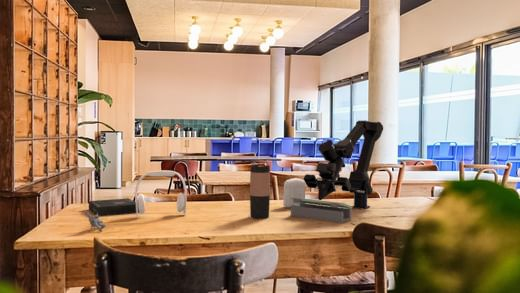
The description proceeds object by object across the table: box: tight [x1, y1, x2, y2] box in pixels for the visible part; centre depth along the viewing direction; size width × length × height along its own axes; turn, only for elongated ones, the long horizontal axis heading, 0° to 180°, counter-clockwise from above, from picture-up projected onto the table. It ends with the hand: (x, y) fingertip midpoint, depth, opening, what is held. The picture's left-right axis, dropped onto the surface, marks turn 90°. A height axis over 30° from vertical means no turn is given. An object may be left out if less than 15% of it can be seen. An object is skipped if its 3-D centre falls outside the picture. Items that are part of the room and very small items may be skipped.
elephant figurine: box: [83, 210, 107, 233], centre depth 160 cm, size 10×6×9 cm
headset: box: [134, 169, 188, 220], centre depth 184 cm, size 20×7×18 cm, turn 108°
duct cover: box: [291, 197, 353, 210], centre depth 184 cm, size 9×22×2 cm, turn 55°
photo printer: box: [283, 177, 306, 208], centre depth 209 cm, size 10×4×12 cm, turn 123°
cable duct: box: [290, 203, 352, 224], centre depth 185 cm, size 8×22×4 cm, turn 55°
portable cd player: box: [88, 197, 140, 217], centre depth 195 cm, size 16×17×4 cm
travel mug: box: [249, 164, 271, 220], centre depth 184 cm, size 8×8×20 cm
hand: (319, 199), depth 184 cm, fingers closed
